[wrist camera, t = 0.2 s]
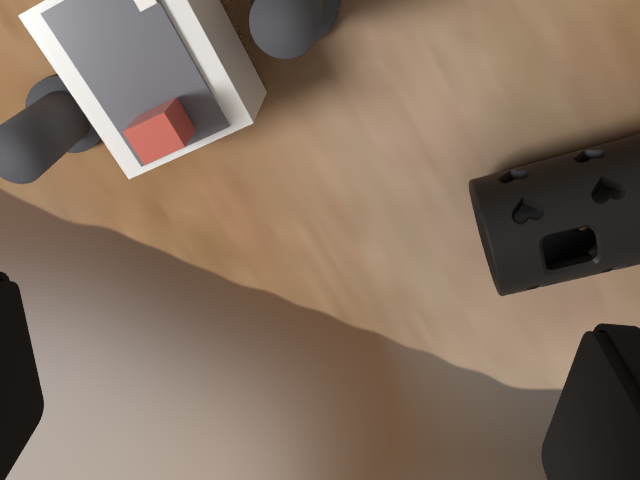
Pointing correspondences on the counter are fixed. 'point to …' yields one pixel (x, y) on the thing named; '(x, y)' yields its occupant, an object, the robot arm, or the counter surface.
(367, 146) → the counter surface
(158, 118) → the slider
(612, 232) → the muzzle brake
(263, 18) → the gray post with base
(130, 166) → the switch box
